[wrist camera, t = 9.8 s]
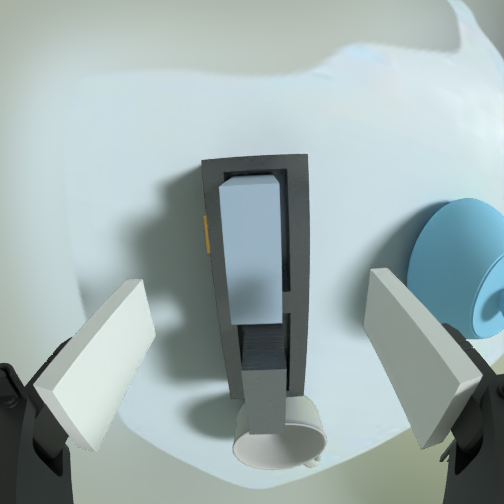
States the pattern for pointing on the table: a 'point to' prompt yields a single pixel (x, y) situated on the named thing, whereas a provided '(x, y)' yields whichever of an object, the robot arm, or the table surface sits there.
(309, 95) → the table surface
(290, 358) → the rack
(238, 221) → the panel
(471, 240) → the sugar bowl
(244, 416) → the teacup
